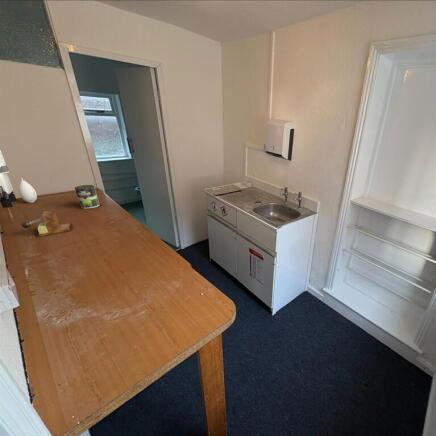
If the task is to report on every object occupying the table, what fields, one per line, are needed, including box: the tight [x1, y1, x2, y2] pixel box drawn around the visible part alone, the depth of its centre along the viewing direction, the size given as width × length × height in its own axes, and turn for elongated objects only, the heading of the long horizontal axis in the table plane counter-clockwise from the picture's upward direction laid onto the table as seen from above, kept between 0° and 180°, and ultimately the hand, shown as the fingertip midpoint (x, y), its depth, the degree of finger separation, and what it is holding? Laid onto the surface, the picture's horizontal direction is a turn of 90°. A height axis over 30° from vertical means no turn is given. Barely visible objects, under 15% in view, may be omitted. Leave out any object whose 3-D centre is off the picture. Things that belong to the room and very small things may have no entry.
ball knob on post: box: [21, 212, 52, 229], centre depth 122 cm, size 13×3×3 cm, turn 130°
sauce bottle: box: [18, 177, 38, 204], centre depth 161 cm, size 8×8×18 cm
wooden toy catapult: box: [37, 209, 71, 237], centre depth 126 cm, size 12×9×11 cm
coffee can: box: [74, 184, 100, 210], centre depth 160 cm, size 10×10×14 cm
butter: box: [37, 225, 48, 234], centre depth 123 cm, size 3×4×3 cm
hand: (10, 204), depth 114 cm, fingers open, 9 cm apart
